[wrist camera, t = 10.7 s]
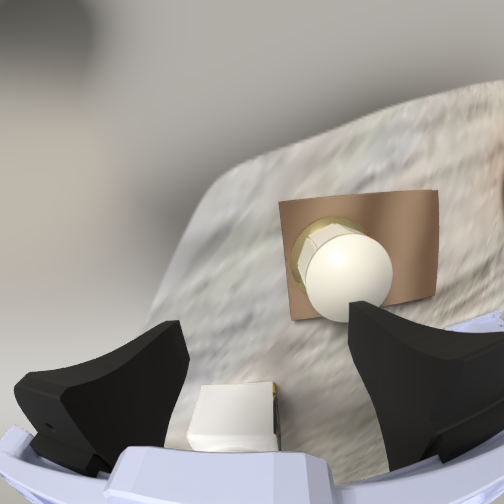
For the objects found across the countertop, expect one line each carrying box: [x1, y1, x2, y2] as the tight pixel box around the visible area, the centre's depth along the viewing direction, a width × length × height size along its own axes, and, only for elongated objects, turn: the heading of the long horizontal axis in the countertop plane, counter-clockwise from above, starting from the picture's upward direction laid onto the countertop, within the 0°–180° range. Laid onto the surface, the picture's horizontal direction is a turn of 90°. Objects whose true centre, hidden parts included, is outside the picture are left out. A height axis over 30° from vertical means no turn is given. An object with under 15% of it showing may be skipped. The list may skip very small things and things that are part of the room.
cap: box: [297, 223, 393, 322], centre depth 17 cm, size 5×5×4 cm
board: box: [279, 190, 439, 320], centre depth 20 cm, size 13×9×1 cm
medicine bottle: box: [187, 381, 281, 452], centre depth 19 cm, size 7×7×12 cm
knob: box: [290, 216, 371, 295], centre depth 18 cm, size 6×6×3 cm
